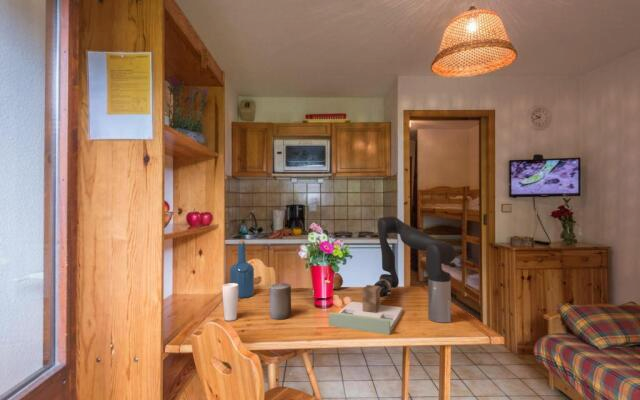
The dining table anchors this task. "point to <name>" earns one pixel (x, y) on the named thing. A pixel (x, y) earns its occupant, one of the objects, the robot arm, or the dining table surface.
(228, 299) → the drinking glass
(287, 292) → the pillar candle
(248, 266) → the wine bottle
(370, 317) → the shallow open tray
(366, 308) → the walnut block
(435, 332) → the dining table surface
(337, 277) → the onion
